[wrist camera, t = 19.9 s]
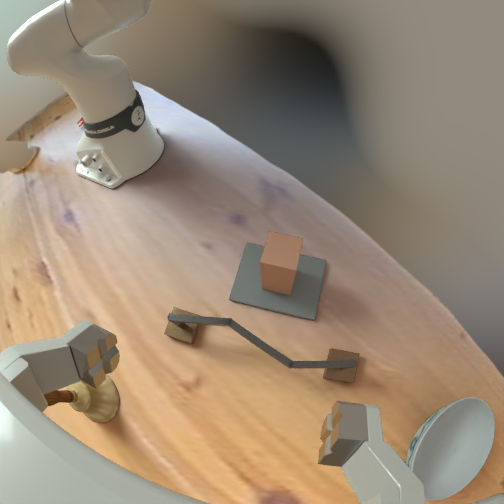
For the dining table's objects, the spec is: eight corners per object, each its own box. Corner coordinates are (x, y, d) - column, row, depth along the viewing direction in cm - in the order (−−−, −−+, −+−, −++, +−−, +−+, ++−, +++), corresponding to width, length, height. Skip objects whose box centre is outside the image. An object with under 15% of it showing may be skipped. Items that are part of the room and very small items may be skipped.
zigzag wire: (167, 335, 36) (150, 326, 31) (176, 309, 38) (161, 297, 33) (350, 382, 32) (365, 382, 27) (356, 354, 34) (372, 349, 28)
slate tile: (229, 299, 38) (229, 298, 38) (247, 244, 42) (247, 242, 41) (314, 320, 36) (314, 319, 36) (325, 262, 40) (326, 260, 40)
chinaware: (469, 392, 29) (500, 388, 22) (456, 474, 22) (483, 482, 15) (394, 403, 30) (421, 405, 23) (378, 494, 24) (399, 512, 17)
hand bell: (127, 389, 33) (55, 385, 19) (109, 432, 30) (36, 444, 15) (88, 360, 35) (14, 340, 20) (71, 402, 31) (-3, 396, 17)
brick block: (261, 288, 38) (260, 262, 30) (268, 263, 40) (268, 231, 32) (289, 295, 38) (296, 270, 29) (296, 269, 39) (303, 238, 31)
